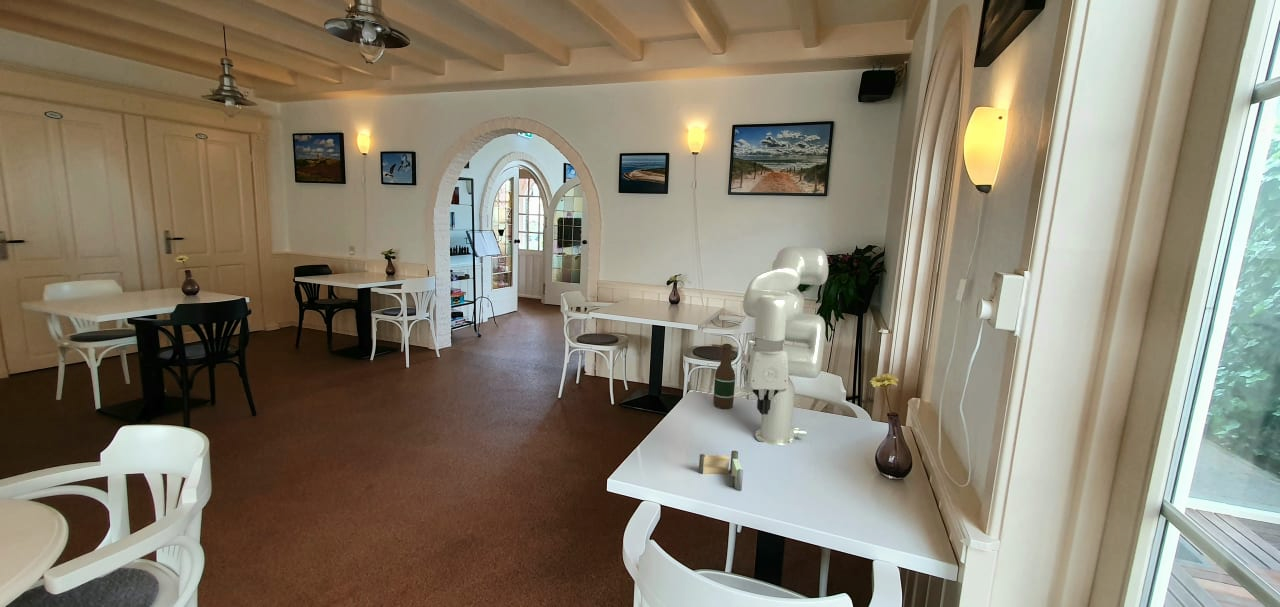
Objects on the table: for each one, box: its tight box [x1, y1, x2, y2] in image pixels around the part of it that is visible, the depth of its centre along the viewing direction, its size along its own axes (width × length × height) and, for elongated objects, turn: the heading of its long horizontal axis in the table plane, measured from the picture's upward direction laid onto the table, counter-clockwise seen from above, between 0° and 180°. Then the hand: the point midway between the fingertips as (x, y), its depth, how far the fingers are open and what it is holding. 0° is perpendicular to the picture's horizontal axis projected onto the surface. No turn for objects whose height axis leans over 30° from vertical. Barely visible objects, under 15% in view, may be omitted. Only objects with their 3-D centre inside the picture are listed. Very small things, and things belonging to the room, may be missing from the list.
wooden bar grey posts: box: [698, 450, 739, 488], centre depth 135 cm, size 10×9×6 cm
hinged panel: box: [730, 458, 744, 492], centre depth 133 cm, size 8×2×5 cm, turn 179°
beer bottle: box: [712, 343, 736, 410], centre depth 192 cm, size 8×8×24 cm
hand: (763, 412), depth 132 cm, fingers closed
